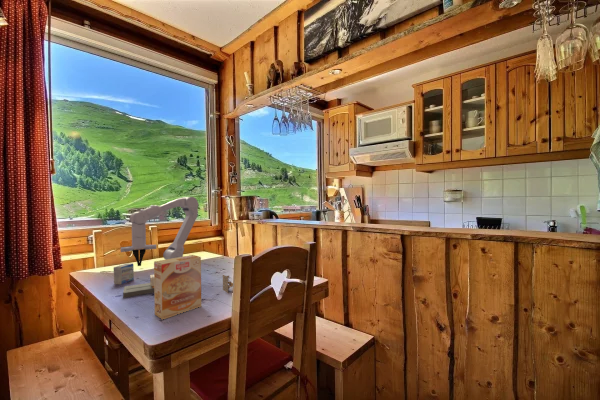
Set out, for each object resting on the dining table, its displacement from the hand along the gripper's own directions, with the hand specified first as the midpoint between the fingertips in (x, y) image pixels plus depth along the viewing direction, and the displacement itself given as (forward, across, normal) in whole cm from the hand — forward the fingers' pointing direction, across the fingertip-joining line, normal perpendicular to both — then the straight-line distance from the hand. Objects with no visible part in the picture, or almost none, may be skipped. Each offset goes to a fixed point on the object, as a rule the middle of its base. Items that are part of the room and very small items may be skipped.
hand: (139, 265), depth 128 cm
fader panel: (+10, +2, -7) cm, 13 cm away
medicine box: (+11, -7, +14) cm, 19 cm away
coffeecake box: (+11, +13, -39) cm, 42 cm away
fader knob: (+8, +6, -7) cm, 12 cm away
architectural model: (+11, +34, -27) cm, 45 cm away
